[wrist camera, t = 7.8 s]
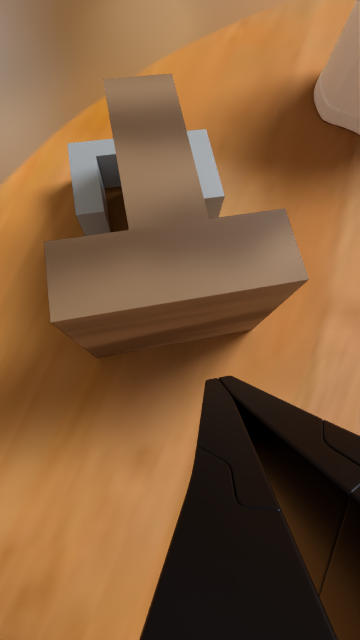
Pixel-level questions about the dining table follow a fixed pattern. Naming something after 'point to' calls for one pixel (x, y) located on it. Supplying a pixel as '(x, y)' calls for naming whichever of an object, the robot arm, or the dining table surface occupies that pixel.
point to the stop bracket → (102, 172)
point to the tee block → (166, 244)
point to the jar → (342, 78)
